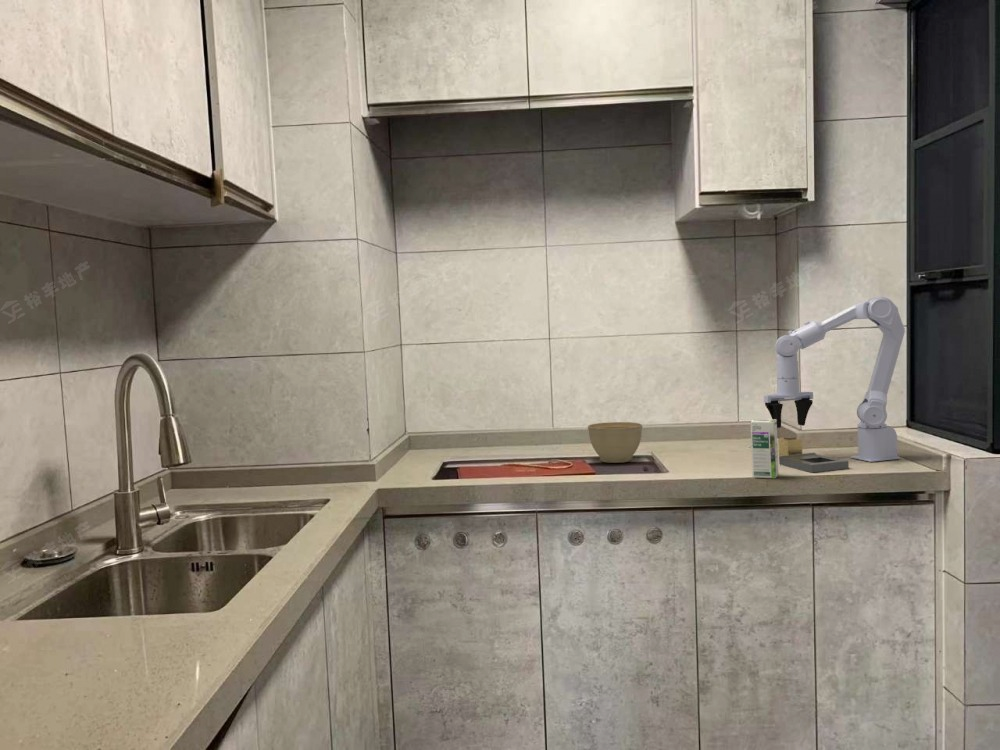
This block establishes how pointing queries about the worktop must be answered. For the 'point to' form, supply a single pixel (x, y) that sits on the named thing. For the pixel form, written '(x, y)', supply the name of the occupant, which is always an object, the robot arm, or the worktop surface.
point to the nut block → (789, 446)
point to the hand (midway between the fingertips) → (789, 426)
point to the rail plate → (813, 462)
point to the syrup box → (764, 448)
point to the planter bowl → (615, 440)
